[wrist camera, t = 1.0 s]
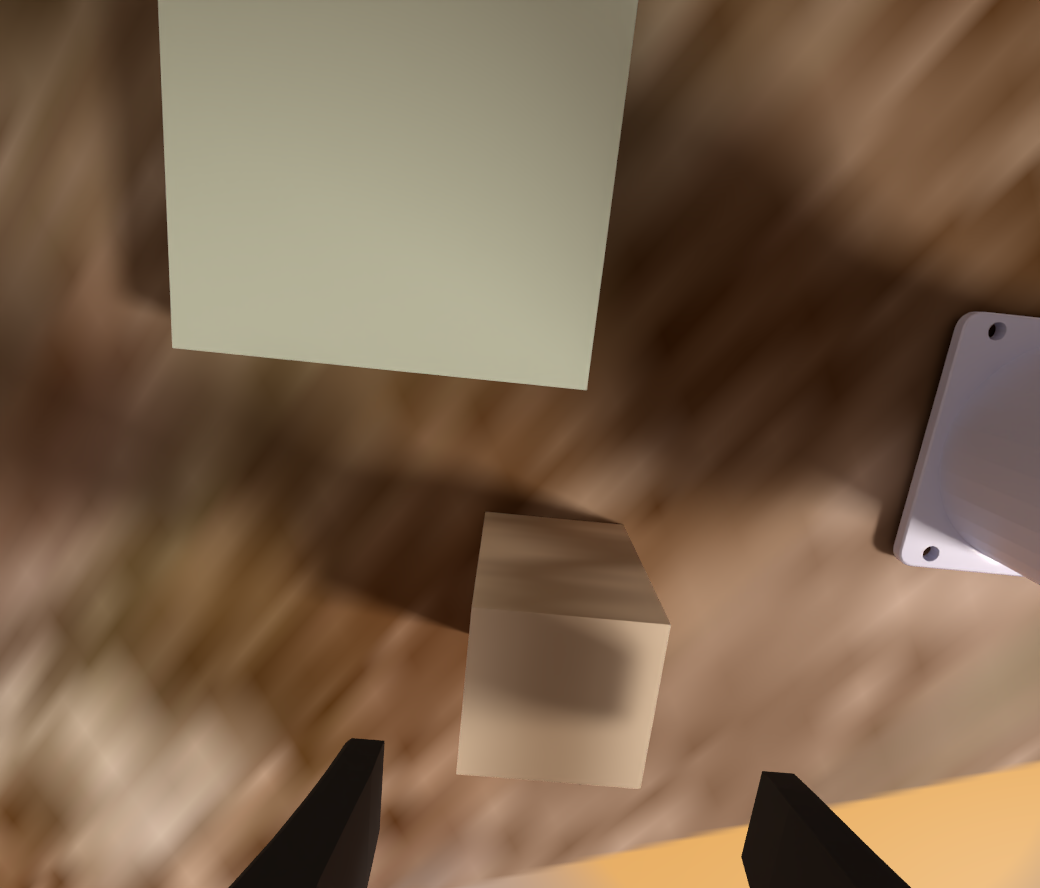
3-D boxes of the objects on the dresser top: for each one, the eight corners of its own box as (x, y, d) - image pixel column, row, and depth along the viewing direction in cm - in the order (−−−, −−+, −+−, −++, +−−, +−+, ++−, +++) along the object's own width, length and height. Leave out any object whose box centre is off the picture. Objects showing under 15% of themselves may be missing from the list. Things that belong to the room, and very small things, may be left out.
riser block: (620, -9, 15) (650, -96, 12) (573, 372, 18) (586, 390, 14) (234, -56, 15) (151, -161, 11) (240, 338, 17) (172, 347, 14)
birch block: (623, 524, 19) (671, 624, 13) (604, 645, 20) (640, 788, 14) (485, 511, 19) (471, 606, 13) (473, 634, 20) (456, 774, 14)
